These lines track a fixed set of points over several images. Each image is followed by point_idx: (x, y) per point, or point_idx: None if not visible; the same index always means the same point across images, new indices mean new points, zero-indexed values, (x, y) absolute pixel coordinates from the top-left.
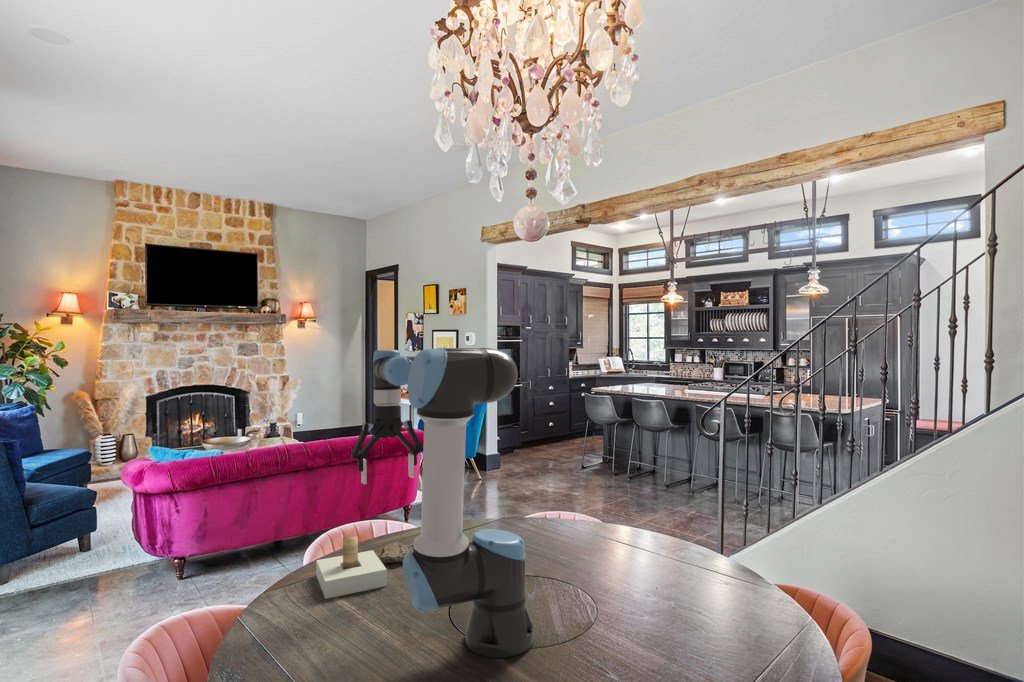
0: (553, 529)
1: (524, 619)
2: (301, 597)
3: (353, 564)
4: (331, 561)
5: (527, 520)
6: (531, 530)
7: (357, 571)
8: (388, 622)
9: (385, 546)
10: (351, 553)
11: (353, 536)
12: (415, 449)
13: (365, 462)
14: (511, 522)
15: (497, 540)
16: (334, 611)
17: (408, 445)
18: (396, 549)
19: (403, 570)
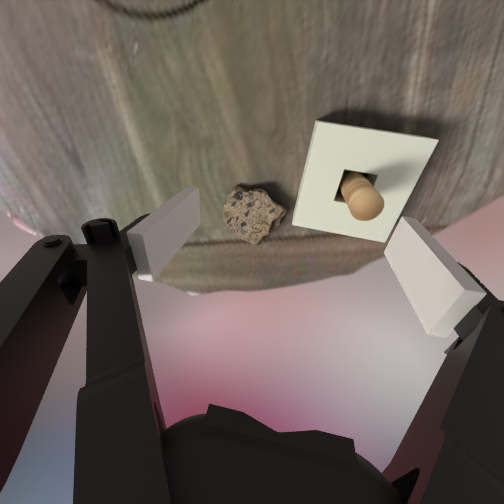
0: (3, 166)
1: None
2: (445, 169)
3: (358, 176)
4: (370, 222)
5: (40, 223)
6: (38, 185)
7: (365, 148)
8: None
9: (264, 233)
10: (367, 182)
11: (357, 208)
12: (89, 250)
13: (461, 280)
14: (63, 230)
15: None
16: (449, 66)
17: (115, 283)
18: (253, 215)
19: None
